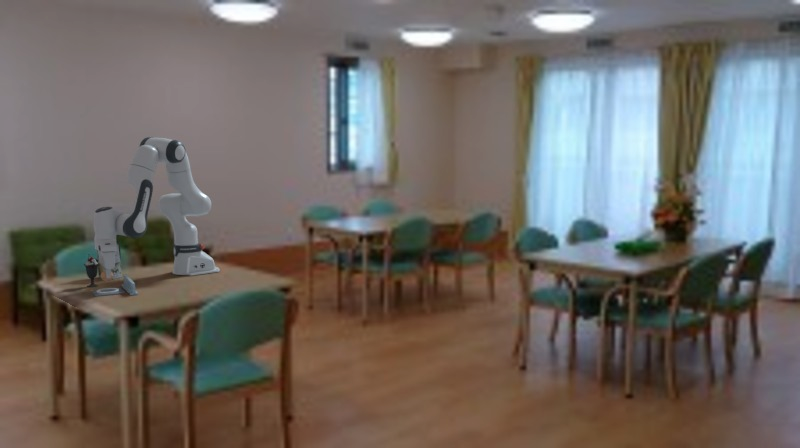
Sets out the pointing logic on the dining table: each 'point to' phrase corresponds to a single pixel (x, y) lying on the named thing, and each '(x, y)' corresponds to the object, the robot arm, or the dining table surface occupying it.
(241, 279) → the dining table surface
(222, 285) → the dining table surface
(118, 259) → the coffee box
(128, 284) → the low wall
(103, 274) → the ball
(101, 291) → the mat
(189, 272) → the robot arm
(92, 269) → the sundae
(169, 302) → the dining table surface
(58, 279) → the dining table surface
